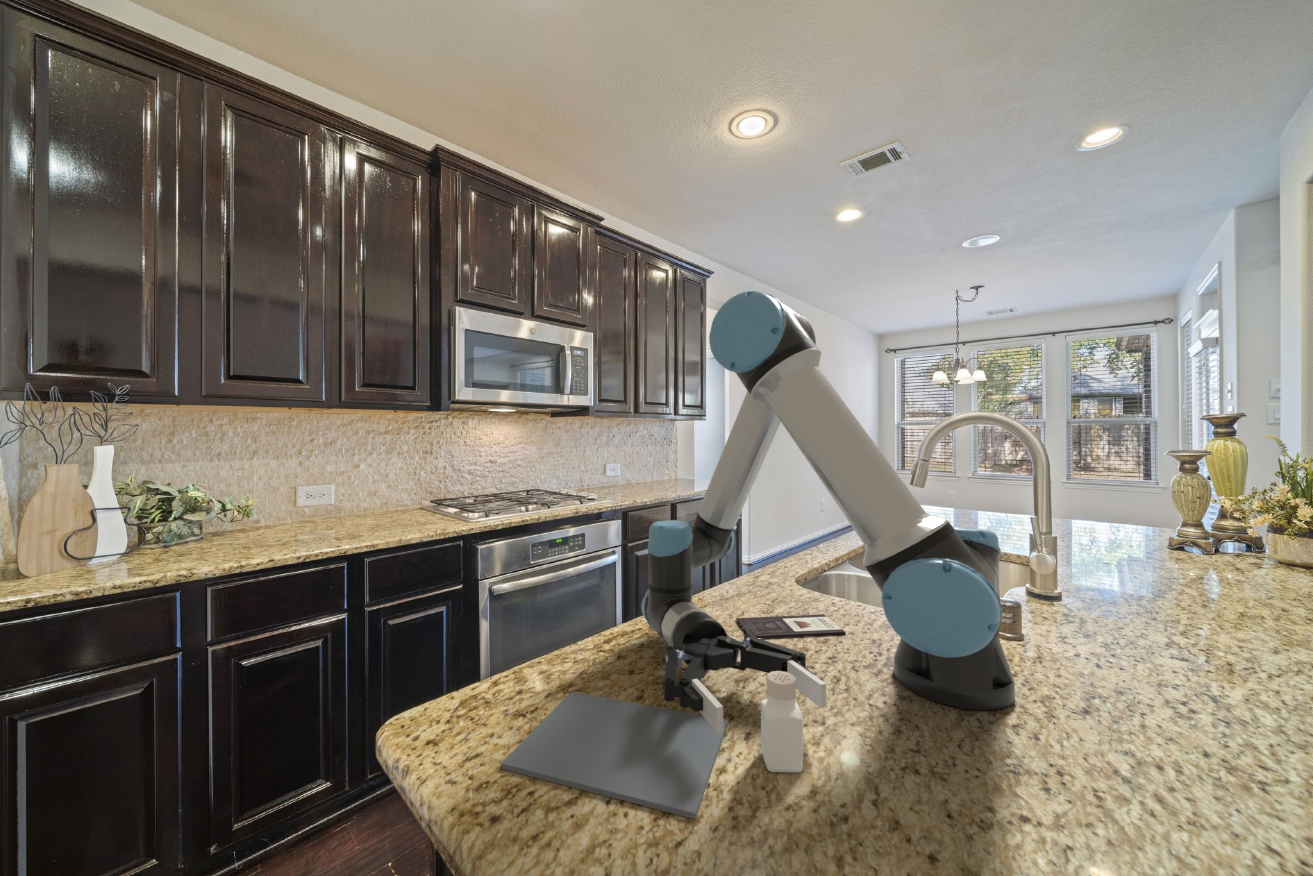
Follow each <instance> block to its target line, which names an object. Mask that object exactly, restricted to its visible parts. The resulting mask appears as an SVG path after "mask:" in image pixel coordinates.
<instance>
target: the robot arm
mask: <svg viewBox="0 0 1313 876" xmlns="http://www.w3.org/2000/svg"><path fill="white" fill-rule="evenodd" d="M708 339H709V347H710V350H711V354H712V356H713V357H714V359H715V360H716V362H717V363H718V364H719V365H720V366H722V367H723V368H724V369H726V370H728V371H729V372H732V373H735V374H736V376H737V377H738V379H739V380H740V382H741V383H742V384H743V386H744V388H745V389H746V394H745V396H744V398H743V400H742V403H741V405H740V407H739V410H738V414H737V415H736V418H735V419H734V423H733V425H732V428H731V430H730V433H729V435H728V438H727V440H726V442H725V445H724V448H723V450H722V452H721V455H720V458H719V460H718V462H717V464H716V466H715V469H714V472H713V473H712V476H711V479H710V482H709V483H708V486H707V489H706V492H705V494H704V496H703V499H702V501H701V504H700V505H699V508H698V511H697V513H696V516H695V518H694V520H693V522H692V525H691V524H690V523H689V522H687V521H683V520H679V519H678V520H675V519H672V520H671V519H668V520H667V519H666V520H659V521H655V522H653V523H652V524H651V525H650V526H649V530H648V543H647V554H648V557H647V558H648V559H647V560H648V590H647V591H646V592H645V594H644V595H643V597H642V600H641V607H640V608H641V613H642V616H643V618H644V619H645V621H646V622H647V624H648V626H649V627H650V629H652V630H653V631H654V632H656V633H657V635H659V636H660V637H661V639H662V640H663V641H664V642H665V643H667V645H668V646H665V671H664V672H665V673H664V680H663V681H664V685H663V687H664V688H663V689H664V690H663V691H664V695H663V698H664V701H665V702H668V703H669V702H674V701H675V699H676V698H678V699H680V701H679V702H680V703H679V706H680V707H681V708H683V709H688V708H690V709H691V711H693V712H695V713H697V712H699V713H700V715H701V716H703V717H704V718H705V719H706V720H707V721H708V723H709V724H710V725H711V726H712V728H713V729H714V730H715V731H716V732H717V733H719V732H723V720H724V705H723V704H721V703H720V701H719V700H718V699H717V698H716V697H715V696H714V695H713V693H711V691H710V690H709V689H708V688H706V686H705V685H704V684H703V683H702V682H701V681H702V679H704V678H705V676H706V675H707V673H708V672H709V671H712V672H713V671H719V670H721V669H734V670H739V671H745V670H746V669H750V670H753V671H754V670H755V671H757V672H763V673H767V674H768V673H770V672H773V671H783V672H787V673H790V674H792V675H793V676H794V677H795V678H796V691H798V692H800V694H801V693H802V694H803V695H804V696H805V697H807V698H808V699H809V700H810V701H811V702H813V703H814V704H815V705H817V706H818V707H819V708H820V709H822V708H826V707H827V683H826V682H824V681H823V680H821V679H820V678H819V677H818V676H816V675H815V674H814V673H813V671H811V670H809V669H808V668H807V666H806V665H807V663H806V662H807V660H806V657H807V656H806V653H805V652H802V651H800V650H796V649H792V648H789V647H786V646H783V645H779V644H776V643H773V642H771V641H767V640H766V639H758V638H757V637H755V636H753V635H752V634H745V633H744V635H743V639H742V640H737V639H736V638H733V637H729V636H728V634H727V632H726V629H724V626H723V625H722V624H721V623H720V622H719V621H718V620H716V619H715V618H714V617H712V616H711V615H709V614H708V613H707V611H705V610H704V609H702V608H701V607H699V606H698V605H697V604H696V603H694V602H693V572H694V571H696V570H697V569H699V568H702V567H703V566H707V565H709V564H711V563H713V562H717V561H720V560H722V559H723V558H724V557H726V556H727V555H729V554H730V552H731V551H732V550H733V548H734V546H735V540H736V539H735V534H734V533H735V532H734V529H735V527H736V525H737V523H738V520H739V517H740V515H741V513H742V511H743V509H744V507H745V504H746V501H747V500H748V497H749V495H750V492H751V491H752V488H753V486H754V483H755V481H756V479H757V477H758V475H759V472H760V470H761V467H762V465H763V463H764V461H765V459H766V456H767V453H768V452H769V450H770V448H771V445H772V443H773V441H774V438H775V437H776V434H777V431H778V429H779V427H780V425H781V423H782V425H783V426H784V428H785V430H786V431H787V433H788V434H789V436H790V437H791V439H792V440H793V441H794V443H795V445H796V446H797V447H798V449H799V451H801V453H802V455H803V456H804V458H805V460H806V461H807V462H808V463H809V465H810V467H811V468H812V469H813V471H814V472H815V474H816V475H817V477H818V479H819V480H820V481H821V483H822V485H823V486H824V487H825V489H826V490H827V492H828V493H829V495H830V496H831V497H832V499H833V501H834V502H835V504H836V505H837V507H838V508H839V509H840V511H841V512H842V514H843V515H844V517H845V518H846V520H847V521H848V523H849V524H850V526H851V527H852V529H853V530H854V532H855V533H856V535H857V537H859V539H860V541H861V542H862V543H863V546H864V549H865V550H864V555H863V561H862V564H863V566H864V567H865V570H867V572H868V574H869V575H870V577H871V578H872V579H873V581H874V583H875V584H876V585H877V587H878V589H879V590H880V591H881V604H882V607H883V613H884V615H885V618H886V620H887V622H888V623H889V625H890V627H891V628H892V629H893V630H894V632H895V633H896V634H897V636H899V638H900V640H899V642H898V645H897V648H896V650H895V654H894V656H893V673H894V676H895V678H896V679H897V681H898V682H899V683H900V684H902V685H903V686H904V687H905V688H907V689H908V690H910V691H912V692H913V693H915V694H917V695H919V696H921V697H923V698H926V699H928V700H931V701H934V702H936V703H940V704H943V705H946V706H950V707H954V708H960V709H967V710H974V711H995V710H997V711H998V710H1001V709H1005V708H1007V707H1010V706H1011V705H1012V704H1013V703H1014V702H1015V698H1016V692H1015V689H1016V687H1015V685H1016V683H1015V678H1014V676H1013V673H1012V670H1011V668H1010V664H1009V661H1008V660H1007V657H1006V653H1005V652H1004V649H1003V646H1002V643H1001V641H1000V640H1001V639H1000V626H1001V625H1000V623H1001V621H1002V618H1003V610H1002V605H1003V604H1002V603H1001V602H1002V601H1001V591H1000V555H1001V551H1002V550H1001V548H1000V543H999V537H998V535H997V534H996V533H995V532H994V531H991V530H988V529H983V528H974V527H964V526H953V525H952V524H951V522H950V521H949V520H948V519H947V518H944V517H940V516H937V515H933V514H930V513H927V512H926V511H925V509H924V508H923V507H922V505H921V504H920V503H919V501H918V500H917V499H916V497H915V496H914V495H913V493H912V492H911V490H910V489H909V488H908V487H907V485H906V484H905V482H904V481H903V480H902V479H901V477H900V475H899V474H898V473H897V471H896V470H895V469H894V468H893V466H892V465H891V463H890V462H889V460H888V459H887V458H886V456H885V455H884V454H883V453H882V451H881V450H880V449H879V447H878V446H877V444H876V443H875V442H874V441H873V439H872V437H870V435H869V434H868V433H867V431H866V430H865V429H864V427H863V425H861V423H860V422H859V420H858V419H857V418H856V415H854V413H853V412H852V411H851V410H850V408H849V407H848V406H847V404H846V403H845V402H844V400H843V398H842V397H841V396H840V394H839V393H838V391H836V389H835V388H834V386H833V385H832V383H830V381H829V380H828V378H827V376H826V375H825V373H823V371H822V370H821V369H820V362H821V357H822V352H821V349H819V348H818V346H817V342H816V335H815V332H814V329H813V326H812V324H811V323H810V322H809V321H808V319H807V318H806V317H805V316H803V314H801V313H799V311H795V310H794V309H792V308H790V307H789V306H788V305H787V304H784V303H783V302H781V301H780V300H779V298H777V297H776V296H774V295H771V294H769V293H765V292H762V291H757V290H756V291H755V290H752V291H750V290H748V291H743V292H740V293H738V294H736V295H734V296H731V297H730V298H729V299H728V300H727V301H725V302H724V303H723V304H722V305H721V306H720V308H719V309H718V311H717V312H716V313H715V315H714V318H713V319H712V321H711V327H710V331H709V336H708ZM739 655H740V657H739ZM738 658H739V659H740V660H739V661H738ZM683 662H684V663H685V664H686V665H687V667H686V669H685V670H684V672H683V673H682V675H681V676H680V679H679V680H678V670H679V669H680V668H681V667H680V666H681V665H682V664H683Z"/></svg>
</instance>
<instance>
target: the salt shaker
mask: <svg viewBox="0 0 1313 876" xmlns="http://www.w3.org/2000/svg"><path fill="white" fill-rule="evenodd" d="M796 692H797V689H796V678H795V677H794V676H793V675H792V674H790V673H787V672H783V671H773V672H770V673H767V674H766V695H767V696H766V697H767V698H765V699H763V700H761V702H760V751H761V753H762V757H763V761H764V763H765V766H766V769H767V770H768V771H769V772H772V773H801V772H802V770H803V766H804V739H803V738H804V730H803V729H804V723H803V721H804V719H803V714H802V711H801V708H800V706H799V704H798V703H797V702H796V698H797V693H796Z"/></svg>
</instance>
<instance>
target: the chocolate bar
mask: <svg viewBox="0 0 1313 876" xmlns="http://www.w3.org/2000/svg"><path fill="white" fill-rule="evenodd" d="M736 620H737V621H736ZM735 621H736V623H737V622H738V623H739V624H740V626H741V627H742V628H743V630H744V631H745V633H746V634H752V635H753V636H755V637H757V638H774V639H784V638H783V637H795V638H803V637H802V636H815V637H828V636H827V635H835V636H846V635H847V634H846V631H845V630H844V629H843V628H841V627H840V626H839V625H837V624H836V623H835V622H834V621H833V620H832V619H830V618H829V617H828V616H826V615H825V614H824V613H823V614H803V615H802V614H800V615H798V614H797V615H780V616H779V615H777V616H755V617H752V616H751V617H736V618H735ZM738 623H737V624H738ZM739 624H738V625H739ZM740 626H739V627H740ZM741 627H740V628H741ZM742 628H741V629H742ZM743 630H742V631H743ZM744 631H743V632H744ZM745 633H744V634H745ZM825 635H826V636H825ZM800 636H801V637H800ZM778 637H779V638H778ZM781 637H782V638H781Z"/></svg>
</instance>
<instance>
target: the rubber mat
mask: <svg viewBox="0 0 1313 876" xmlns="http://www.w3.org/2000/svg"><path fill="white" fill-rule="evenodd" d="M728 722H729V720H728V719H723V732H719V733H717V732H716V731H715V730H714V729H713V728H712V726H711V725H710V724H709V723H708V721H707V720H706V719H705V718H704V717H703V715H702V714H695V713H690V712H683V711H679V710H674V709H668V708H662V707H658V706H653V705H647V704H642V703H638V702H632V701H627V700H622V699H621V700H620V699H616V698H610V697H605V696H599V695H595V694H589V693H583V692H579V691H573V690H572V691H571V692H570V693H569V694H568V695H567V696H566V697H565V698H564V699H563V700H562V701H561V702H560V703H559V704H558V705H557V706H556V707H555V708H554V710H552V711H551V712H550V713H549V715H547V716H546V717H545V718H544V719H543V720H542V721H541V722H540V723H539V724H538V725H537V726H536V727H535V728H534V729H533V730H532V731H531V732H530V733H529V734H528V735H527V736H526V737H525V738H524V739H523V741H521V742H520V744H518V746H516V747H515V748H514V750H513V751H512V752H510V754H509V755H507V756H506V757H505V758H504V760H502V762H501V763H500V769H501V770H504V771H508V772H512V773H516V774H520V775H524V776H529V777H532V778H536V779H539V780H543V781H545V782H546V781H547V782H551V783H553V784H558V785H562V786H564V787H569V788H574V789H577V790H582V791H585V792H589V793H593V794H596V795H600V796H604V797H608V798H611V799H615V800H619V799H620V801H623V800H624V801H623V802H626V801H627V803H630V804H634V803H635V804H634V805H638V804H639V806H641V807H646V808H650V809H653V808H654V810H658V811H662V812H664V813H669V814H673V815H676V816H681V817H684V816H685V817H684V818H688V817H689V818H688V819H691V818H692V820H695V819H697V818H698V817H697V816H698V814H697V813H699V811H700V807H701V805H700V804H702V802H703V799H702V798H704V796H705V793H704V792H706V790H707V787H708V784H709V782H708V781H710V779H711V776H710V775H712V773H713V770H714V766H715V764H716V760H717V758H718V755H719V753H720V749H721V746H722V744H721V743H723V741H724V738H723V737H725V735H726V732H725V731H727V729H728V725H729V723H728ZM726 728H727V729H726ZM724 734H725V735H724ZM722 740H723V741H722ZM717 754H718V755H717ZM714 763H715V764H714ZM712 769H713V770H712ZM711 772H712V773H711ZM709 778H710V779H709ZM707 783H708V784H707ZM706 786H707V787H706ZM705 789H706V790H705ZM703 795H704V796H703ZM628 801H629V802H628ZM701 801H702V802H701ZM631 802H632V803H631ZM647 806H648V807H647ZM698 810H699V811H698Z"/></svg>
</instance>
